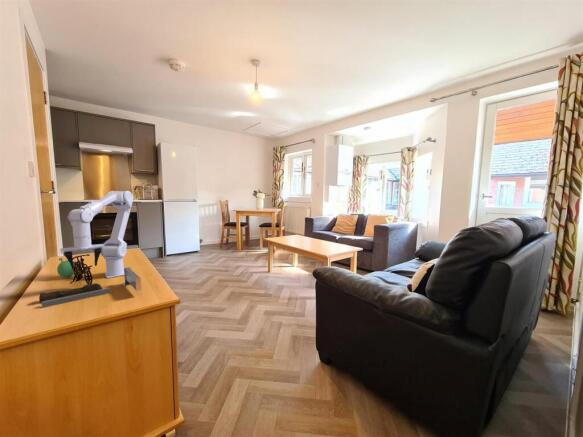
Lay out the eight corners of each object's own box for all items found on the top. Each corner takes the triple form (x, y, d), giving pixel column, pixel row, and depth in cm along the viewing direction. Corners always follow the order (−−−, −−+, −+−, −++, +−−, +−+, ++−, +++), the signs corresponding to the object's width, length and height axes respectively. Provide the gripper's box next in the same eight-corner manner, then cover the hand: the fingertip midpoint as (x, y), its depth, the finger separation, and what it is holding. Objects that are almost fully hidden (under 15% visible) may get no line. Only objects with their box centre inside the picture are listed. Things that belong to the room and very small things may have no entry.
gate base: (122, 283, 112) (122, 283, 112) (132, 281, 115) (132, 281, 115) (123, 286, 109) (123, 285, 109) (134, 284, 112) (134, 283, 112)
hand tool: (38, 305, 91) (37, 293, 90) (43, 300, 94) (42, 289, 94) (101, 295, 99) (100, 285, 99) (103, 292, 103) (102, 281, 102)
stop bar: (42, 306, 89) (41, 301, 89) (109, 291, 103) (109, 287, 103) (42, 307, 88) (41, 302, 88) (110, 292, 102) (109, 288, 101)
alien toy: (80, 273, 126) (79, 255, 125) (72, 278, 118) (70, 258, 117) (63, 275, 124) (62, 256, 123) (54, 280, 116) (52, 260, 115)
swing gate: (124, 283, 112) (123, 268, 111) (130, 281, 113) (129, 267, 113) (135, 296, 97) (134, 279, 96) (142, 294, 99) (141, 277, 98)
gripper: (59, 239, 97) (62, 272, 99) (104, 235, 107) (106, 265, 109) (59, 237, 103) (62, 268, 104) (102, 233, 112) (104, 262, 114)
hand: (84, 266), depth 107 cm, fingers open, 7 cm apart
